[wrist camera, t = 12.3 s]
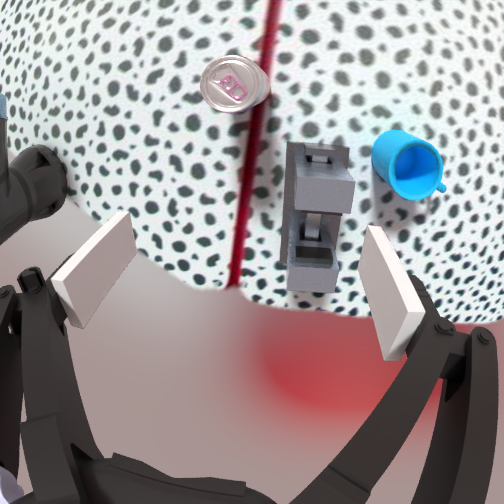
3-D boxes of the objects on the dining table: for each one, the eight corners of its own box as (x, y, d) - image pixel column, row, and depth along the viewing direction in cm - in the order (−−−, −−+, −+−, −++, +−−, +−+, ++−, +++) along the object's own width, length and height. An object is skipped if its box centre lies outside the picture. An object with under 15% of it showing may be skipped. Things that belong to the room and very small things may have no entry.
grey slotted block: (279, 259, 50) (277, 301, 41) (286, 141, 39) (287, 158, 30) (331, 262, 49) (340, 304, 40) (348, 146, 39) (367, 165, 30)
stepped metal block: (287, 251, 48) (286, 290, 40) (289, 225, 46) (289, 260, 37) (326, 254, 48) (333, 293, 39) (330, 228, 45) (340, 264, 37)
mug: (361, 165, 40) (377, 182, 33) (386, 119, 36) (407, 127, 29) (420, 200, 41) (441, 222, 34) (443, 159, 37) (469, 175, 30)
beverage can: (246, 114, 38) (227, 127, 25) (218, 84, 36) (184, 83, 23) (279, 88, 35) (276, 86, 23) (250, 58, 33) (232, 41, 21)
